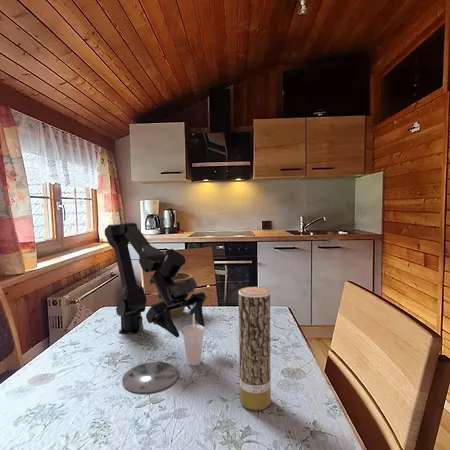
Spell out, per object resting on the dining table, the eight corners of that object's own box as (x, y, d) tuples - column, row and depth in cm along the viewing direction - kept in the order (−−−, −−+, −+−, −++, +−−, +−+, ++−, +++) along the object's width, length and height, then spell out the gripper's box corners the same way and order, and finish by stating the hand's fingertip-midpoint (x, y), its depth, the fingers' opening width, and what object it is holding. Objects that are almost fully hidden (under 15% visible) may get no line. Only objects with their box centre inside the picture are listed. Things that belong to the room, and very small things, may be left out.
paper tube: (273, 396, 71) (272, 288, 69) (267, 415, 64) (266, 296, 63) (244, 391, 73) (243, 286, 72) (236, 408, 66) (234, 293, 65)
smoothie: (187, 370, 83) (186, 318, 82) (179, 360, 88) (178, 311, 88) (209, 364, 86) (208, 314, 85) (199, 354, 91) (199, 308, 91)
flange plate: (111, 391, 74) (111, 388, 74) (136, 362, 87) (136, 359, 87) (168, 395, 72) (168, 392, 72) (185, 365, 85) (184, 362, 85)
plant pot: (148, 318, 122) (147, 278, 122) (166, 307, 137) (165, 271, 136) (182, 322, 118) (181, 280, 117) (197, 310, 132) (197, 273, 131)
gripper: (150, 275, 83) (176, 326, 76) (202, 265, 97) (228, 307, 90) (136, 299, 89) (159, 348, 82) (186, 286, 103) (210, 327, 95)
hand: (191, 331), depth 87 cm, fingers open, 9 cm apart
